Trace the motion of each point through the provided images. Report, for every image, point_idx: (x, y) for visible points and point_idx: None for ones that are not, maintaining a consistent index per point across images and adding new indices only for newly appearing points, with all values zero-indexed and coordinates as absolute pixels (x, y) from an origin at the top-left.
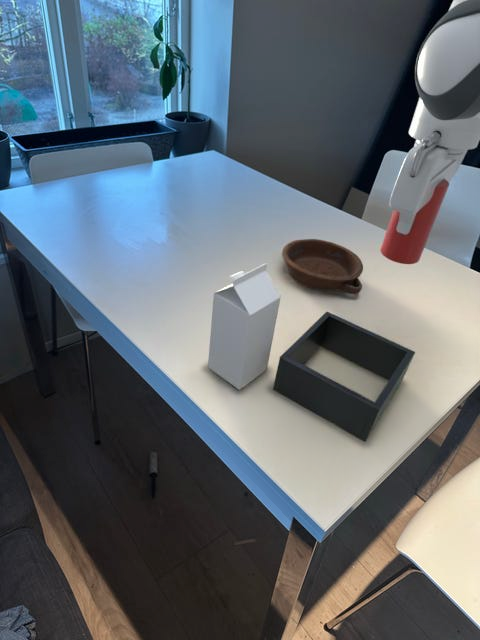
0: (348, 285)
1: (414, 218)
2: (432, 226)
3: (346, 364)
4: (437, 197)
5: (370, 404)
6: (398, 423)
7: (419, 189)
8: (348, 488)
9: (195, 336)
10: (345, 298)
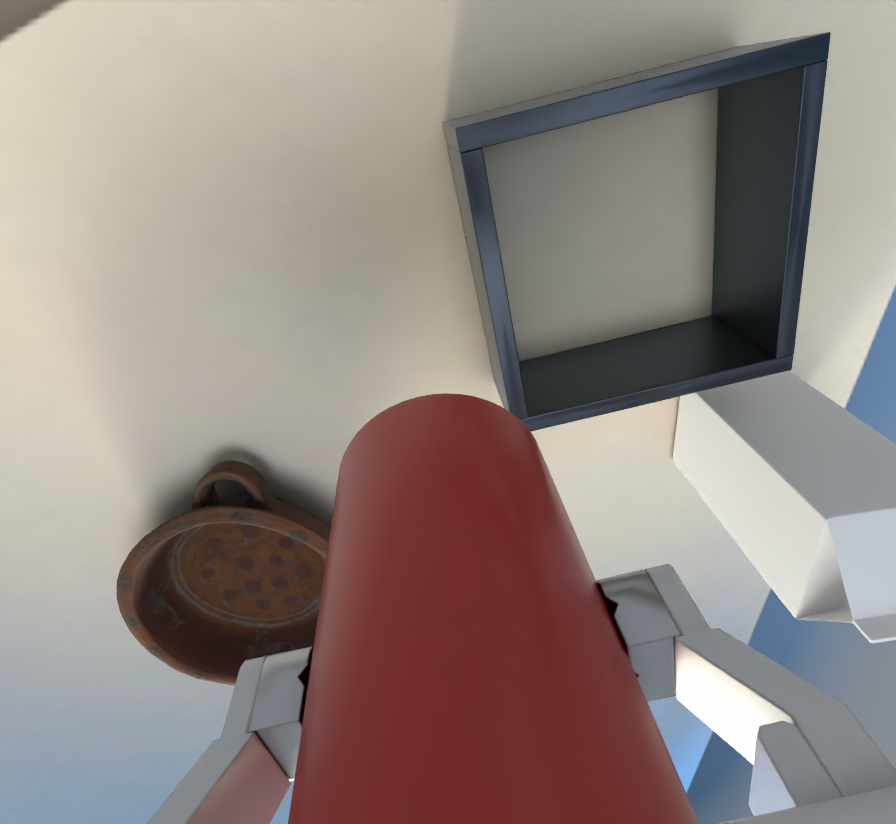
0: (256, 495)
1: (730, 668)
2: (428, 554)
3: (509, 278)
4: None
5: (824, 69)
6: (606, 18)
7: None
8: None
9: (695, 524)
10: (266, 464)
